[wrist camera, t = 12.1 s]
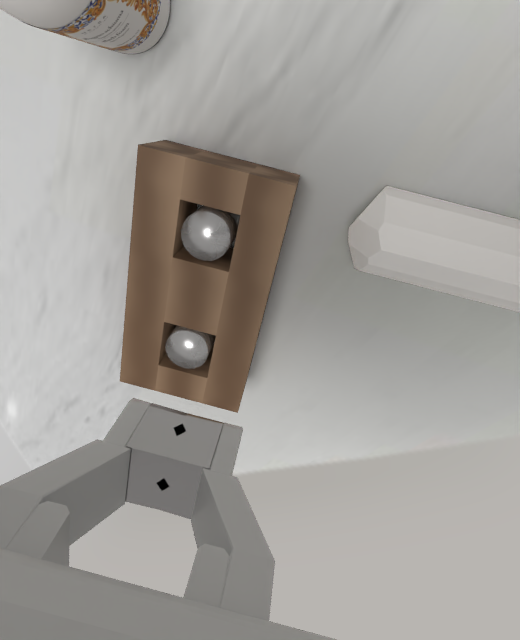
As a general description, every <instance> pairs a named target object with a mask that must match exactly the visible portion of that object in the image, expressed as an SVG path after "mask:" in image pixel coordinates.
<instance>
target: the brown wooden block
mask: <svg viewBox="0 0 520 640" xmlns="http://www.w3.org/2000/svg"><path fill="white" fill-rule="evenodd" d="M299 177H300V175H298V174H294V173H290V172H287V171H283V170H279V169H275V168H271V167H267V166H263V165H260V164H256V163H252V162H248V161H244V160H240V159H236V158H233V157H229V156H225V155H221V154H217V153H213V152H209V151H206V150H202V149H198V148H194V147H190V146H186V145H182V144H179V143H175V142H171V141H167V140H163V141H157V142H152V143H146V144H140V145H138V153H137V166H136V179H135V192H134V205H133V217H132V230H131V243H130V256H129V269H128V282H127V295H126V308H125V321H124V334H123V347H122V359H121V372H120V381H121V382H125V383H128V384H132V385H136V386H140V387H143V388H147V389H151V390H155V391H158V392H162V393H166V394H170V395H173V396H177V397H181V398H185V399H188V400H192V401H196V402H200V403H203V404H207V405H211V406H215V407H218V408H222V409H226V410H230V411H233V412H237V413H238V410H239V406H240V402H241V399H242V395H243V391H244V388H245V384H246V380H247V377H248V373H249V369H250V365H251V361H252V358H253V354H254V350H255V346H256V342H257V338H258V335H259V331H260V327H261V323H262V319H263V315H264V312H265V308H266V304H267V300H268V296H269V292H270V289H271V285H272V281H273V277H274V273H275V269H276V266H277V262H278V258H279V254H280V250H281V246H282V243H283V239H284V235H285V231H286V227H287V223H288V220H289V216H290V212H291V208H292V204H293V200H294V196H295V193H296V189H297V185H298V181H299ZM198 204H200V205H204V206H208V207H211V208H215V209H219V210H223V211H227V212H231V213H234V214H238V215H240V220H239V225H238V230H237V235H236V240H235V245H234V248H230V247H229V248H228V250H227V251H226V252H225V254H224V255H223V256H221V257H220V258H218V259H216V260H212V261H204V260H200V259H197V258H195V257H194V256H192V255H191V254H190V253H189V252H188V251H187V250H186V248H185V247H184V245H183V242H182V238H181V229H182V226H183V223H184V221H185V220H186V219H187V218H188V217H189V216H190V215H191V214H193V213H194V212H195V211H196V210H197V205H198ZM177 325H178V326H181V327H185V328H189V329H193V330H197V331H200V332H204V333H208V334H212V335H215V336H216V338H215V343H214V344H213V346H212V348H211V350H210V353H209V355H208V357H207V359H206V361H205V362H204V364H202V365H201V366H200V367H197V368H193V369H186V368H182V367H180V366H178V365H176V364H175V363H173V362H172V361H171V360H170V358H169V357H168V355H167V353H166V348H165V346H166V342H167V339H168V338H169V336H170V335H171V333H172V332H173V330H174V329H175V327H176V326H177Z"/></svg>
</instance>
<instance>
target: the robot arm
mask: <svg viewBox="0 0 520 640" xmlns="http://www.w3.org/2000/svg"><path fill="white" fill-rule="evenodd" d="M242 432H243V428H242V427H239V426H235V425H231V424H227V423H222V422H219V421H215V420H211V419H207V418H203V417H199V416H195V415H192V414H187V413H184V412H181V411H177V410H174V409H170V408H167V407H164V406H160V405H157V404H153V403H152V404H151V403H148V402H145V401H142V400H138V399H135V398H133V399H132V400H130V401H129V402H128V404H127V405H126V407H125V408H124V410H123V411H122V413H121V414H120V416H119V417H118V419H117V420H116V422H115V423H114V425H113V426H112V428H111V429H110V431H109V432H108V434H107V435H106V437H105V438H104V440H103V441H101V440H95V441H93V442H91V443H89V444H87V445H85V446H82V447H80V448H78V449H76V450H74V451H72V452H70V453H68V454H66V455H64V456H61V457H59V458H57V459H55V460H53V461H51V462H49V463H47V464H45V465H43V466H40V467H38V468H36V469H34V470H32V471H30V472H28V473H26V474H24V475H22V476H20V477H18V478H15V479H13V480H11V481H9V482H7V483H5V484H3V485H1V486H0V640H336V639H332V638H329V637H325V636H322V635H318V634H314V633H311V632H307V631H303V630H300V629H296V628H292V627H289V626H285V625H281V624H278V623H273V622H270V621H269V614H270V605H271V596H272V585H273V575H274V564H275V560H274V558H273V556H272V554H271V551H270V549H269V547H268V545H267V543H266V540H265V538H264V536H263V534H262V531H261V529H260V527H259V525H258V522H257V520H256V518H255V516H254V513H253V511H252V509H251V507H250V504H249V502H248V500H247V498H246V495H245V493H244V491H243V489H242V487H241V484H240V482H239V480H238V478H237V477H234V476H232V473H233V469H234V465H235V461H236V456H237V452H238V448H239V444H240V440H241V436H242ZM125 502H130V503H134V504H139V505H142V506H146V507H150V508H155V509H159V510H162V511H165V512H169V513H172V514H175V515H179V516H182V517H185V518H189V519H191V523H192V527H193V531H194V536H195V540H196V544H197V548H198V550H197V554H196V557H195V560H194V563H193V567H192V570H191V574H190V577H189V581H188V584H187V587H186V591H185V594H184V597H183V598H182V597H178V596H175V595H171V594H167V593H164V592H160V591H157V590H153V589H149V588H145V587H142V586H138V585H134V584H131V583H127V582H123V581H119V580H116V579H112V578H108V577H105V576H102V575H98V574H94V573H90V572H87V571H83V570H80V569H76V568H72V567H69V546H70V545H71V544H72V543H74V542H75V541H76V540H77V539H79V538H80V537H82V536H83V535H84V534H86V533H87V532H88V531H89V530H91V529H92V528H93V527H95V526H96V525H97V524H99V523H100V522H101V521H103V520H104V519H105V518H107V517H108V516H109V515H111V514H112V513H113V512H114V511H115V510H117V509H118V508H120V507H121V506H122V505H124V504H125Z"/></svg>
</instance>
